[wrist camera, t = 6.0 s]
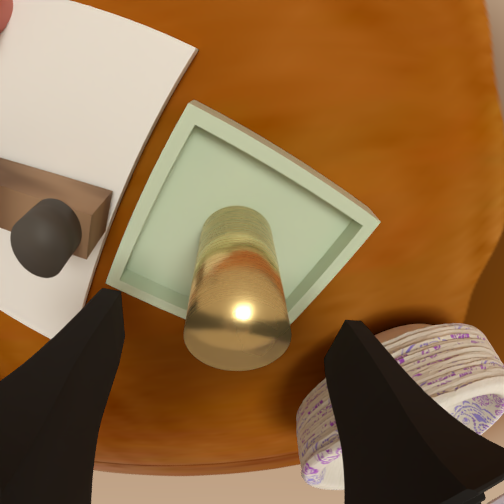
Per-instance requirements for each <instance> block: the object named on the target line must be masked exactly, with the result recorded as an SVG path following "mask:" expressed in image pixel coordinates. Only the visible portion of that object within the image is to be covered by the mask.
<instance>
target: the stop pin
mask: <svg viewBox="0 0 504 504" xmlns="http://www.w3.org/2000/svg"><path fill="white" fill-rule="evenodd" d="M184 341H185V344H186V346H187V348H188V350H189V351H190V352H191V354H192V355H193V356H195V357H196V358H197V359H198V360H200V361H201V362H203V363H205V364H207V365H209V366H211V367H215V368H218V369H222V370H229V371H245V370H252V369H257V368H260V367H263V366H266V365H268V364H270V363H272V362H273V361H275V360H276V359H278V358H279V357H280V356H281V355H282V354H283V353H284V352H285V351H286V349H287V348H288V346H289V344H290V341H291V328H290V323H289V317H288V312H287V307H286V301H285V296H284V291H283V286H282V281H281V276H280V271H279V265H278V260H277V255H276V250H275V245H274V241H273V236H272V231H271V227H270V225H269V223H268V221H267V220H266V219H265V217H264V216H263V215H261V214H260V213H259V212H257V211H256V210H254V209H252V208H249V207H245V206H228V207H224V208H222V209H219V210H217V211H216V212H214V213H213V214H211V215H210V216H209V217H208V219H207V220H206V221H205V223H204V225H203V227H202V231H201V236H200V241H199V246H198V252H197V257H196V262H195V268H194V273H193V279H192V285H191V291H190V297H189V303H188V309H187V315H186V321H185V327H184Z"/></svg>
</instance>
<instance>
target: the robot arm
mask: <svg viewBox="0 0 504 504" xmlns="http://www.w3.org/2000/svg"><path fill="white" fill-rule="evenodd" d="M124 339H125V332H124V321H123V310H122V297H121V291H116V290H111V289H105V288H102V289H101V290H100V291H99V292H98V293H97V294H96V295H95V296H94V297H93V298H92V299H91V300H90V301H89V302H88V303H87V304H86V305H85V306H84V307H83V308H82V309H81V310H80V311H79V312H78V313H77V314H76V315H75V316H74V317H73V318H72V319H71V320H70V321H69V322H68V323H67V324H66V325H65V326H64V327H63V328H62V329H61V330H60V331H59V332H58V333H57V334H56V335H55V336H54V337H53V338H52V339H51V340H50V341H49V342H48V343H46V344H45V345H44V346H43V347H42V348H41V349H40V350H39V351H38V352H37V353H35V354H34V355H33V356H32V357H31V358H30V359H28V360H27V361H26V362H25V363H24V364H22V365H21V366H20V367H19V368H17V369H16V370H15V371H13V372H12V373H11V374H9V375H8V376H7V377H5V378H4V379H2V380H1V381H0V504H91V493H92V476H93V468H94V459H95V451H96V444H97V438H98V432H99V428H100V423H101V419H102V416H103V413H104V409H105V406H106V403H107V400H108V396H109V393H110V390H111V387H112V384H113V381H114V378H115V375H116V372H117V369H118V366H119V362H120V357H121V353H122V348H123V343H124ZM324 364H325V375H326V383H327V388H328V393H329V397H330V401H331V405H332V409H333V413H334V417H335V422H336V426H337V430H338V434H339V438H340V444H341V450H342V459H343V470H344V489H345V504H481V502H482V501H484V500H485V494H484V492H485V491H486V490H488V489H490V488H492V487H493V486H495V485H497V484H498V483H500V482H502V481H503V480H504V448H503V447H501V446H499V445H497V444H495V443H493V442H491V441H489V440H487V439H486V438H484V437H482V436H481V435H479V434H477V433H476V432H474V431H473V430H471V429H470V428H468V427H467V426H465V425H464V424H463V423H461V422H460V421H459V420H457V419H456V418H455V417H453V416H452V415H451V414H449V413H448V412H447V411H446V410H445V409H443V408H442V407H441V406H440V405H439V404H438V403H437V402H436V401H434V400H433V399H432V398H431V397H430V396H429V395H428V394H427V393H426V392H425V391H424V390H423V389H422V388H421V387H420V386H419V385H418V384H417V383H416V382H415V381H414V380H413V379H412V378H411V377H410V376H409V374H408V373H407V372H406V371H405V370H404V369H403V368H402V367H401V366H400V364H399V363H398V362H397V361H396V360H395V359H394V358H393V356H392V355H391V354H390V353H389V352H388V351H387V350H386V348H385V347H384V346H383V345H382V344H381V343H380V341H379V340H378V339H377V338H376V337H375V336H374V334H373V333H372V332H371V331H370V330H369V329H368V328H367V327H366V326H365V325H364V324H363V323H362V322H361V321H354V320H345V322H344V323H343V325H342V327H341V329H340V331H339V333H338V335H337V336H336V338H335V340H334V342H333V344H332V345H331V347H330V349H329V351H328V353H327V354H326V356H325V358H324ZM487 504H504V494H502V495H500V496H499V497H497V498H495V499H494V500H492V501H490V502H488V503H487Z"/></svg>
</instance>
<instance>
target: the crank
mask: <svg viewBox="0 0 504 504" xmlns="http://www.w3.org/2000/svg"><path fill="white" fill-rule="evenodd" d="M112 192H113V191H111V190H107V189H104V188H101V187H98V186H94V185H91V184H88V183H84V182H81V181H78V180H75V179H71V178H68V177H65V176H61V175H58V174H55V173H51V172H48V171H44V170H41V169H38V168H34V167H31V166H27V165H24V164H21V163H17V162H14V161H10V160H7V159H3V158H0V228H2V229H5V230H7V231H10V232H11V235H10V241H11V247H12V250H13V252H14V255H15V256H16V258H17V260H18V261H19V262H20V264H21V265H22V266H23V267H24V268H25V269H26V270H27V271H29V272H30V273H32V274H34V275H36V276H38V277H42V278H51V277H54V276H56V275H58V274H59V273H60V271H61V270H62V269H63V267H64V266H65V264H66V263H67V261H68V260H69V258H70V257H71V256H72V255H75V256H77V257H80V258H83V259H86V260H87V258H88V257H89V255H90V254H91V252H92V250H93V249H94V247H95V246H96V244H97V243H98V241H99V240H100V238H101V237H102V236H103V234H104V233H105V231H106V225H107V219H108V213H109V208H110V202H111V197H112Z"/></svg>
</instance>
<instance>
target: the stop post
mask: <svg viewBox="0 0 504 504" xmlns="http://www.w3.org/2000/svg"><path fill="white" fill-rule="evenodd" d="M12 11H13V0H0V33H1V32H2V31H3V30H4V29H5V27H6V26H7V24H8V22H9V20H10V18H11V15H12Z"/></svg>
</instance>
